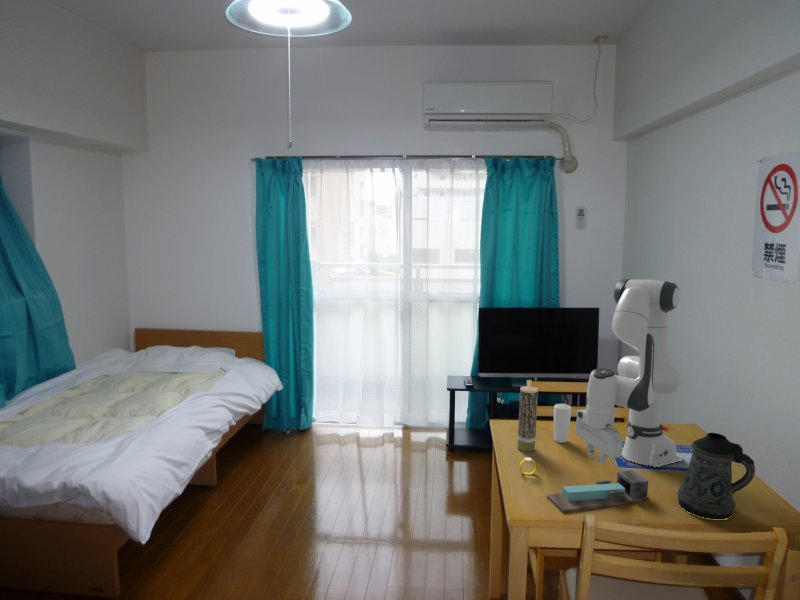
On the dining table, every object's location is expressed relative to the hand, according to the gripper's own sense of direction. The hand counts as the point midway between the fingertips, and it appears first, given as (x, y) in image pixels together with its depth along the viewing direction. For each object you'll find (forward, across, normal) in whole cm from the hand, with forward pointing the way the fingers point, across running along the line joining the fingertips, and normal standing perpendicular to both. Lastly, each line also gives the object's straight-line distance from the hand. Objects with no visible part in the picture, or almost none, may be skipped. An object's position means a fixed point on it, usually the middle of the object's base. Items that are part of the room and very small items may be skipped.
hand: (596, 459), depth 184 cm
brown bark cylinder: (+14, +42, +2) cm, 44 cm away
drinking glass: (+14, +46, -16) cm, 51 cm away
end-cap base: (+14, 0, -2) cm, 14 cm away
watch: (+14, +22, +12) cm, 29 cm away
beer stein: (+14, -14, -34) cm, 39 cm away
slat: (+13, 0, 0) cm, 13 cm away
